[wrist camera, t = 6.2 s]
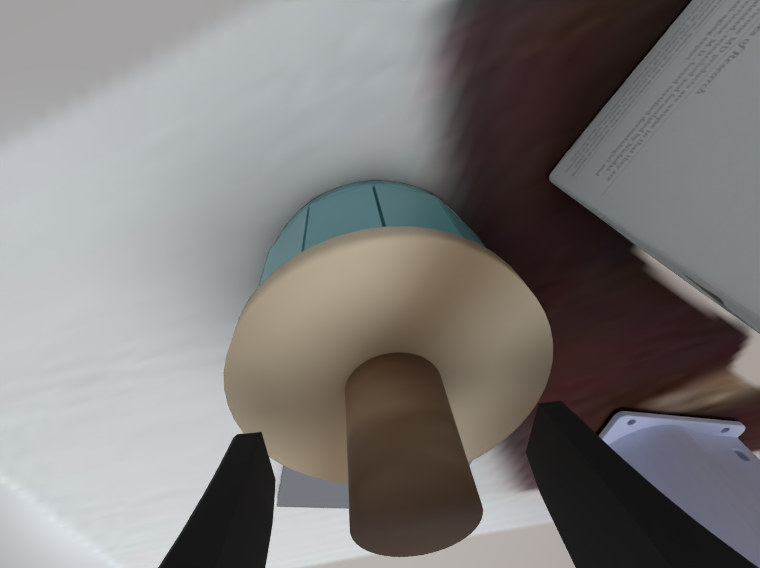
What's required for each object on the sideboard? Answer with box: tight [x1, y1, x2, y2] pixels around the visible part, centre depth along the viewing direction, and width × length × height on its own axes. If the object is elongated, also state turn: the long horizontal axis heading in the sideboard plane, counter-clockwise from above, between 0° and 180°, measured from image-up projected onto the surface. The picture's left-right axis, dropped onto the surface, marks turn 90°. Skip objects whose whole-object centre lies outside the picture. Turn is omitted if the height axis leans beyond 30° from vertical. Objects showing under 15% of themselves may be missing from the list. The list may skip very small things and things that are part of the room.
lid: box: [224, 226, 553, 557], centre depth 11 cm, size 10×10×5 cm
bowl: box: [259, 181, 486, 286], centre depth 15 cm, size 9×9×5 cm
